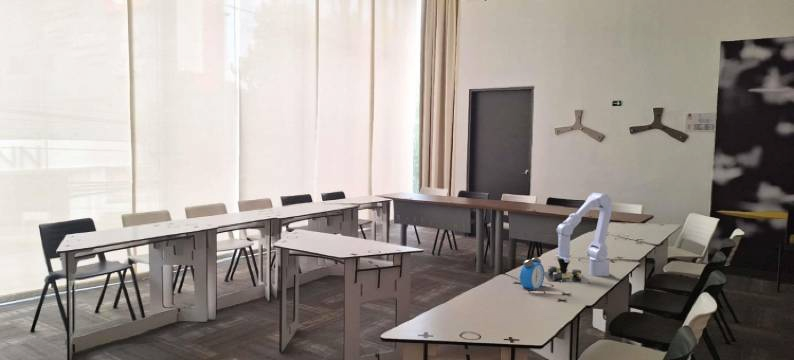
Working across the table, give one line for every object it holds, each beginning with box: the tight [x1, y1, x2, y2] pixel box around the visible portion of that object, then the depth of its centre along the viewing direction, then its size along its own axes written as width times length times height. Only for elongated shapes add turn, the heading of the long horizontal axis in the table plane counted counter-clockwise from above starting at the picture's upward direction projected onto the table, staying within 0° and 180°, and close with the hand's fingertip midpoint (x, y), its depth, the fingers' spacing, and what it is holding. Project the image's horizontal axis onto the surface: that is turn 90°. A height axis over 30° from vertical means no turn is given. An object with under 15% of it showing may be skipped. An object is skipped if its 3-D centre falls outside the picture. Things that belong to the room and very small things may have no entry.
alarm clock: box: [519, 256, 545, 292], centre depth 253 cm, size 13×6×15 cm, turn 136°
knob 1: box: [547, 265, 569, 274], centre depth 278 cm, size 10×4×3 cm, turn 85°
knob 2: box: [553, 272, 573, 280], centre depth 266 cm, size 10×4×3 cm, turn 85°
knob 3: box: [571, 269, 583, 278], centre depth 268 cm, size 10×4×3 cm, turn 175°
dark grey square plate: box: [544, 271, 590, 284], centre depth 272 cm, size 20×20×2 cm
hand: (563, 273), depth 273 cm, fingers closed
